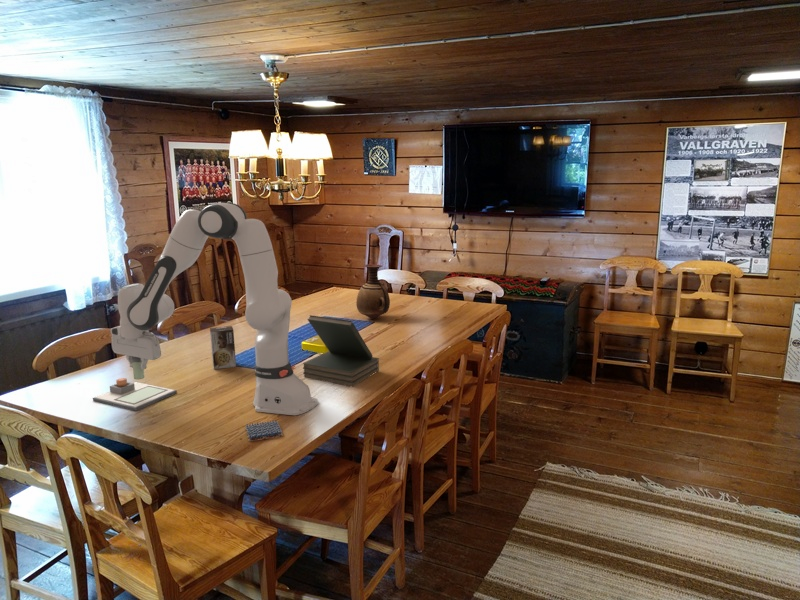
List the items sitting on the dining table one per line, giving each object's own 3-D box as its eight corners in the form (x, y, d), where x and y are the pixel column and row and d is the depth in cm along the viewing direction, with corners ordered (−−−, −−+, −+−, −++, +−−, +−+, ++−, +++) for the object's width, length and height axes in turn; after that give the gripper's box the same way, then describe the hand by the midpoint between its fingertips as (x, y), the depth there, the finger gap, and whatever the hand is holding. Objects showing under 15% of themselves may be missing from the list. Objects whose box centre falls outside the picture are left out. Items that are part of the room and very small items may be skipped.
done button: (129, 384, 208) (128, 379, 208) (121, 387, 205) (120, 382, 205) (122, 383, 210) (122, 377, 209) (114, 386, 207) (114, 380, 206)
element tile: (327, 356, 253) (327, 345, 252) (299, 351, 260) (299, 341, 259) (345, 347, 266) (345, 337, 265) (318, 343, 273) (318, 333, 272)
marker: (146, 377, 203) (144, 355, 202) (138, 380, 200) (136, 358, 199) (139, 375, 205) (137, 354, 203) (131, 378, 202) (129, 356, 200)
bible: (379, 372, 232) (378, 312, 226) (352, 388, 215) (351, 323, 209) (332, 364, 242) (330, 306, 237) (303, 378, 225) (300, 316, 220)
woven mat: (278, 424, 184) (277, 418, 183) (283, 438, 174) (283, 431, 174) (244, 429, 180) (244, 423, 180) (248, 443, 170) (248, 437, 170)
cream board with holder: (176, 392, 209) (176, 383, 208) (135, 410, 193) (134, 401, 192) (135, 384, 218) (134, 375, 217) (93, 400, 202) (92, 391, 201)
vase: (353, 315, 324) (352, 263, 318) (384, 313, 329) (383, 261, 323) (362, 324, 304) (361, 268, 298) (394, 322, 309) (394, 267, 303)
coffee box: (234, 362, 243) (232, 325, 240) (236, 366, 237) (234, 329, 234) (212, 364, 240) (209, 327, 237) (213, 369, 234) (210, 331, 231)
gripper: (163, 331, 197) (167, 369, 200) (122, 324, 206) (125, 361, 209) (149, 336, 192) (152, 375, 195) (106, 328, 200) (110, 366, 203)
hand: (138, 368), depth 202 cm, fingers closed on marker, 3 cm apart
